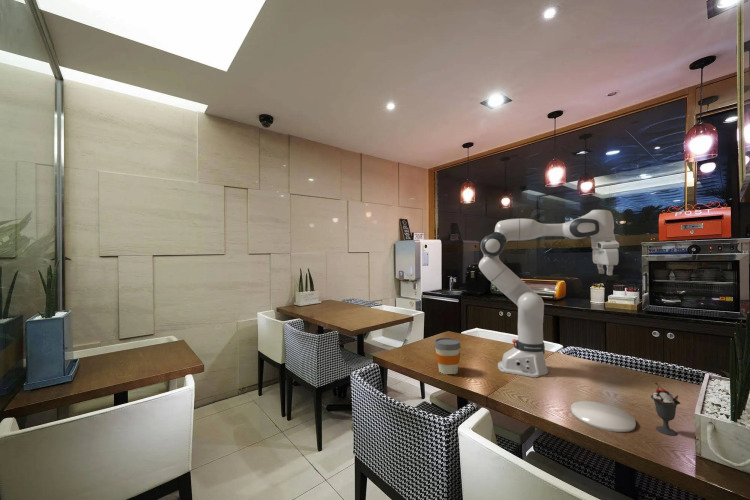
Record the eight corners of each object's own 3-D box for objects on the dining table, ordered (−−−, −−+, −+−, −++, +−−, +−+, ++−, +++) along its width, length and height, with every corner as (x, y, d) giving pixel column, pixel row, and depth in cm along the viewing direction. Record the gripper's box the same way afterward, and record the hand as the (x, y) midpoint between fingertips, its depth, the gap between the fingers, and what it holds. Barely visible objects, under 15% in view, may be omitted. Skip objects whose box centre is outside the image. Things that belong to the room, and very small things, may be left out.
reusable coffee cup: (451, 378, 140) (450, 346, 141) (430, 371, 150) (429, 341, 150) (466, 371, 149) (465, 340, 149) (445, 364, 158) (444, 336, 158)
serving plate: (579, 427, 99) (579, 423, 99) (565, 401, 116) (564, 398, 116) (647, 436, 94) (647, 432, 94) (621, 408, 111) (621, 404, 111)
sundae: (646, 426, 99) (644, 380, 99) (664, 424, 100) (662, 379, 100) (667, 438, 92) (665, 389, 93) (687, 436, 93) (685, 387, 93)
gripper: (587, 245, 149) (589, 272, 149) (603, 244, 130) (605, 276, 130) (602, 244, 147) (605, 272, 147) (621, 243, 128) (623, 275, 127)
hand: (605, 274), depth 138 cm, fingers open, 8 cm apart
